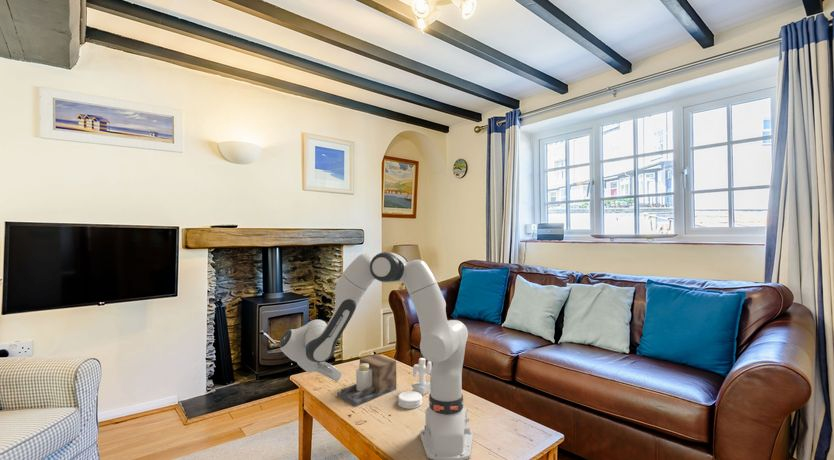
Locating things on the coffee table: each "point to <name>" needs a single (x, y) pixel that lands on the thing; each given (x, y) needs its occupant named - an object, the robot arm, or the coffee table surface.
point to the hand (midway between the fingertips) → (334, 377)
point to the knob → (363, 377)
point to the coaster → (410, 399)
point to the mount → (373, 381)
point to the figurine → (421, 376)
